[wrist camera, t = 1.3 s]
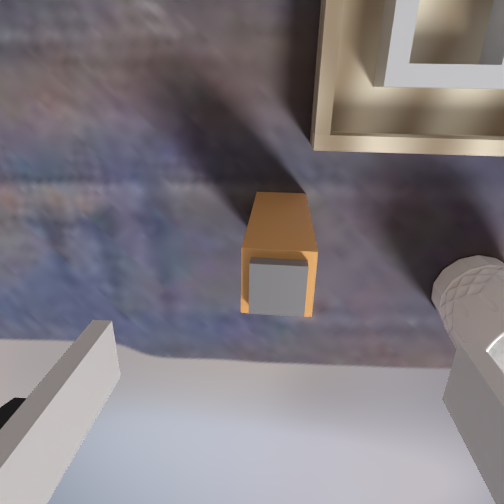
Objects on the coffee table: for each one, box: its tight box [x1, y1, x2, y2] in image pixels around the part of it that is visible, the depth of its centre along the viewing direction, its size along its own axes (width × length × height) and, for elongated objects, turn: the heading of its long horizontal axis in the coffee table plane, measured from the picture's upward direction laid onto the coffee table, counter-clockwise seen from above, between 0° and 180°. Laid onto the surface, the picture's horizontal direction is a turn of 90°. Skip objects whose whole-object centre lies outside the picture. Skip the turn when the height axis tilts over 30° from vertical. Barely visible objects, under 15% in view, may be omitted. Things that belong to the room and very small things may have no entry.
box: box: [310, 0, 504, 156], centre depth 23 cm, size 16×16×4 cm
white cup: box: [431, 255, 504, 373], centre depth 28 cm, size 8×8×10 cm
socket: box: [373, 0, 504, 89], centre depth 23 cm, size 8×8×3 cm
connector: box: [241, 192, 318, 317], centre depth 25 cm, size 4×4×13 cm
